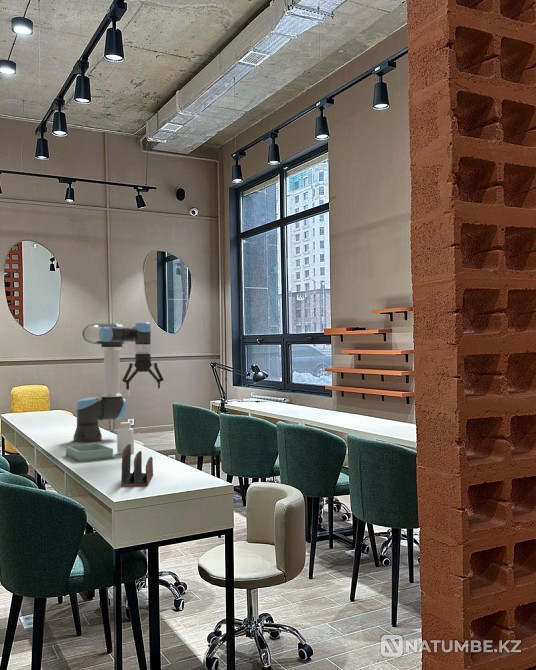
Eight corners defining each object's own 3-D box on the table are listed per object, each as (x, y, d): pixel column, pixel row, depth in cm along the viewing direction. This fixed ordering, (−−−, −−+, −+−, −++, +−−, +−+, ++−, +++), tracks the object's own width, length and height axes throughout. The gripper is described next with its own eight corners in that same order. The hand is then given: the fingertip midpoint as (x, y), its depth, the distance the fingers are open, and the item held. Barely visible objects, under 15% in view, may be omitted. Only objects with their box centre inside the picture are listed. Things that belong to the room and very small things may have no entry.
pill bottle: (113, 453, 315) (113, 423, 315) (124, 451, 322) (124, 421, 322) (126, 455, 311) (126, 423, 312) (137, 452, 319) (137, 422, 319)
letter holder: (121, 487, 244) (120, 449, 244) (128, 476, 263) (128, 441, 263) (147, 486, 244) (147, 449, 244) (153, 476, 264) (153, 441, 264)
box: (66, 455, 311) (66, 446, 311) (98, 452, 320) (98, 443, 320) (78, 462, 294) (78, 452, 294) (112, 458, 303) (112, 448, 303)
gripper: (119, 353, 317) (119, 397, 316) (169, 353, 326) (169, 395, 326) (116, 353, 324) (116, 396, 323) (165, 352, 333) (165, 394, 333)
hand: (143, 395), depth 325 cm, fingers open, 13 cm apart
